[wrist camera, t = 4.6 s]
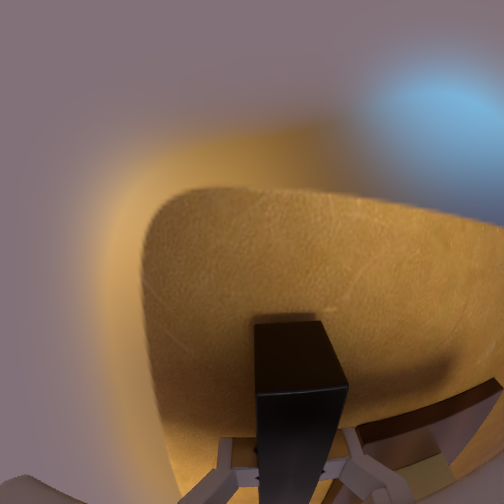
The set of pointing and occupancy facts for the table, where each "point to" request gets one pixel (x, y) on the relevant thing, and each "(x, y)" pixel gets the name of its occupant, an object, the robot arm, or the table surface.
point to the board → (422, 434)
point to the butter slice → (427, 476)
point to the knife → (295, 408)
